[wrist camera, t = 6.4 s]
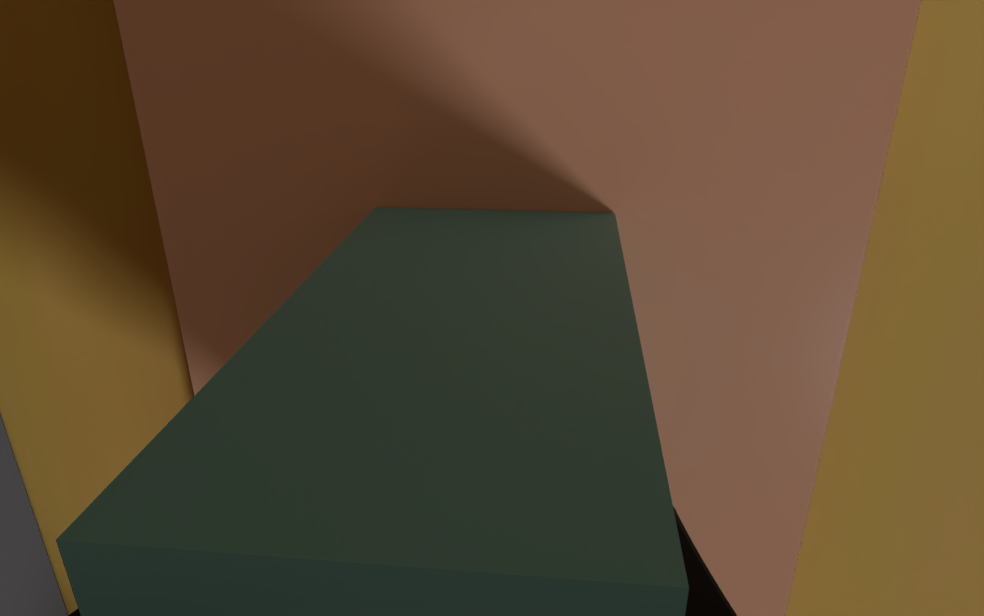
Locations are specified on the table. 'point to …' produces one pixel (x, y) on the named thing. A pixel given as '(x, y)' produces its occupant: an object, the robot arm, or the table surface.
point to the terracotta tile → (557, 191)
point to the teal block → (410, 443)
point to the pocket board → (22, 548)
